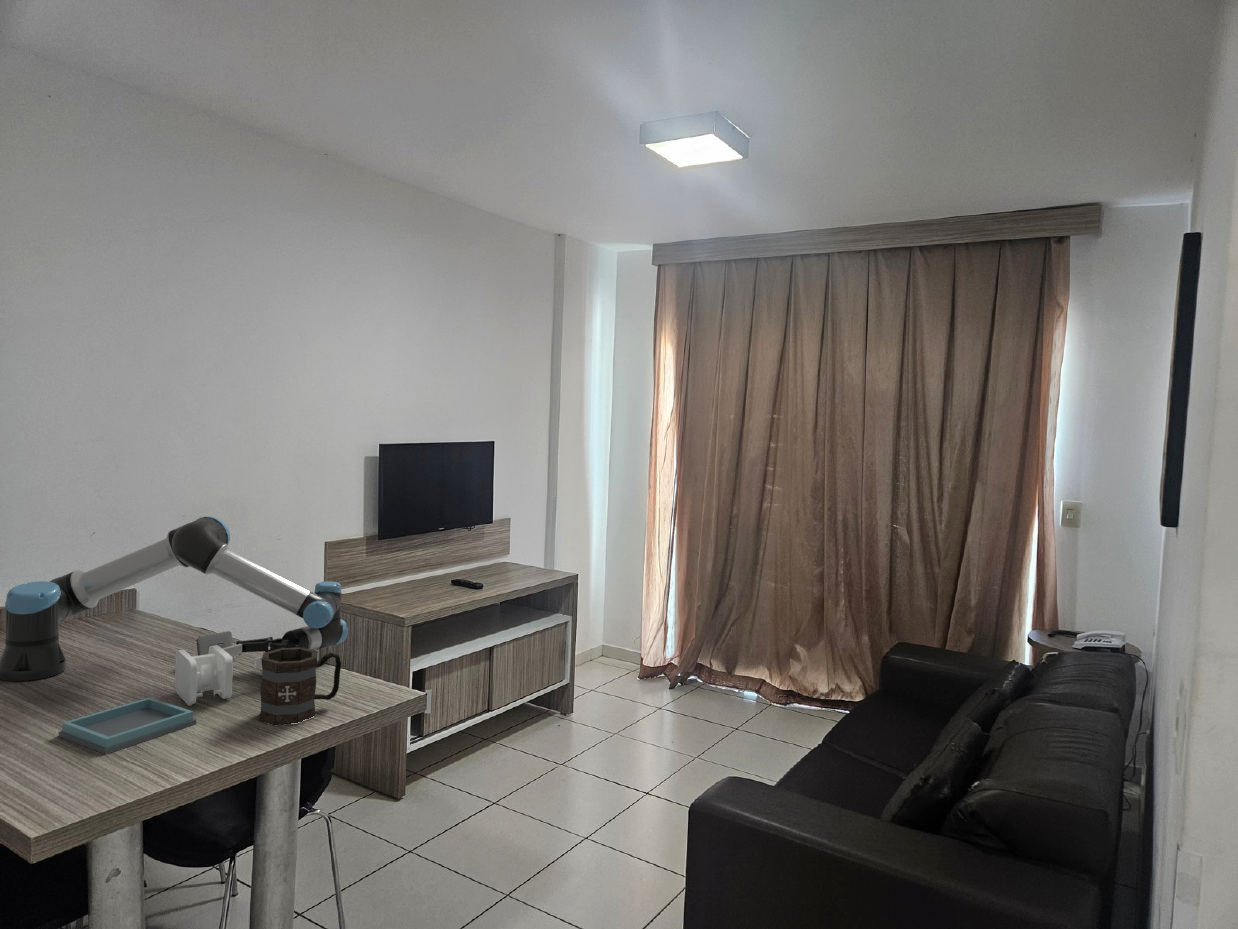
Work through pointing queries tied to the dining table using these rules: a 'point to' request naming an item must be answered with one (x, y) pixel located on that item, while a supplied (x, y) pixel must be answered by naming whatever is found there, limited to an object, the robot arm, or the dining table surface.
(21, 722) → the dining table surface
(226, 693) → the white spool piece
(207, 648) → the electrical switch
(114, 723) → the teal tray
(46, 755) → the dining table surface
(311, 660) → the mug
